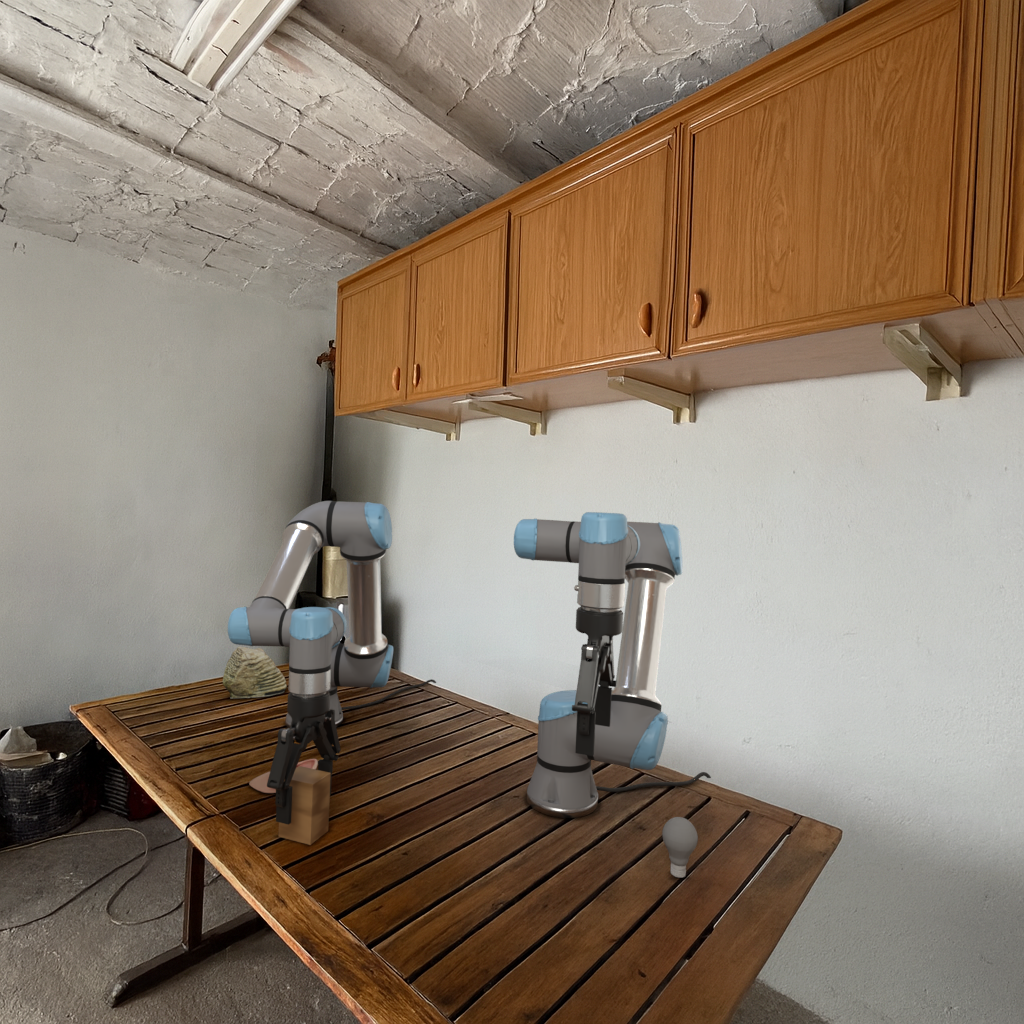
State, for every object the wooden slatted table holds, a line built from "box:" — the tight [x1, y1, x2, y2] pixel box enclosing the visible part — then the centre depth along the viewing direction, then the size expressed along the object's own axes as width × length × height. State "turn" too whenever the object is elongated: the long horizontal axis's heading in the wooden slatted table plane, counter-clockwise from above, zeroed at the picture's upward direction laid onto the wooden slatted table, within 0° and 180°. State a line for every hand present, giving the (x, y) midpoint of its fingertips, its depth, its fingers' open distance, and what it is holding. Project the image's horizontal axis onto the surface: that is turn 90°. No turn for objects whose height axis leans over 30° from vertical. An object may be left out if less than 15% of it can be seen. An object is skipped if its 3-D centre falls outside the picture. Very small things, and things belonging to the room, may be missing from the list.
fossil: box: [222, 646, 288, 699], centre depth 198 cm, size 9×18×15 cm, turn 132°
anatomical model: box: [248, 758, 318, 794], centre depth 139 cm, size 13×4×12 cm
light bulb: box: [661, 816, 699, 879], centre depth 110 cm, size 6×6×10 cm
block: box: [278, 766, 331, 846], centre depth 119 cm, size 6×7×11 cm
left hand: (304, 807), depth 119 cm, fingers open, 11 cm apart
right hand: (593, 738), depth 102 cm, fingers open, 13 cm apart
